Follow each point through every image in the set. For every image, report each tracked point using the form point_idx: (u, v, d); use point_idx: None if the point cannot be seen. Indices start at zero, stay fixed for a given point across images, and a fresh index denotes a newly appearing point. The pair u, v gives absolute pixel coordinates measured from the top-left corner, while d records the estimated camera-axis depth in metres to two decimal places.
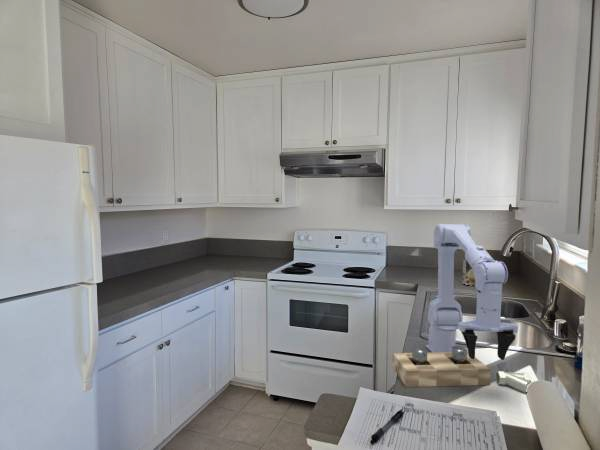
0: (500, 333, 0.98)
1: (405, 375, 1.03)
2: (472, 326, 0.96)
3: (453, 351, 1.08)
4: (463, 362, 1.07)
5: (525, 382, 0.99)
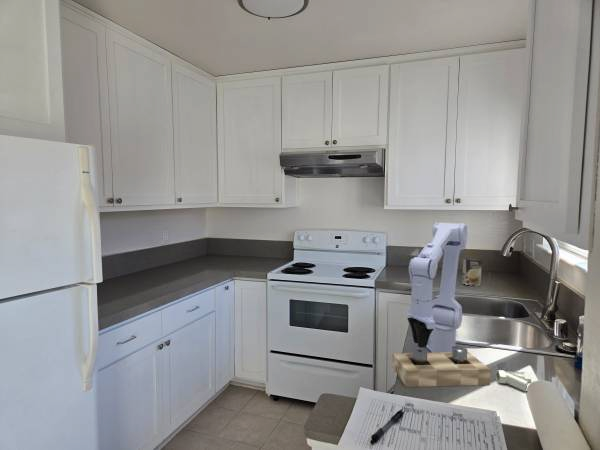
0: None
1: (405, 375, 1.03)
2: (410, 310, 1.12)
3: (453, 351, 1.08)
4: (463, 362, 1.07)
5: (525, 381, 1.00)
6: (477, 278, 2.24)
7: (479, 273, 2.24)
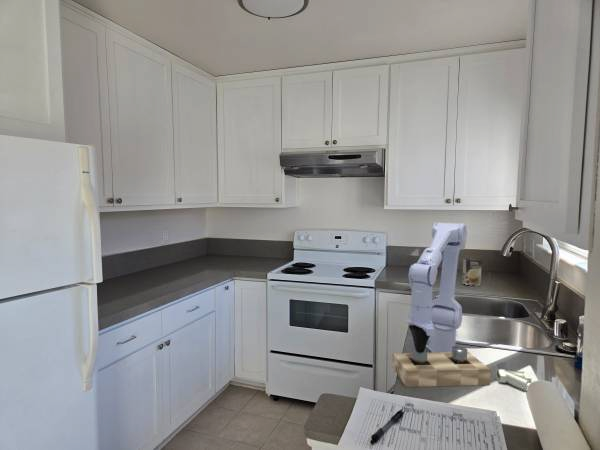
0: None
1: (405, 375, 1.03)
2: (409, 316, 1.12)
3: (453, 351, 1.08)
4: (463, 362, 1.07)
5: (525, 381, 1.00)
6: (477, 278, 2.24)
7: (479, 273, 2.24)
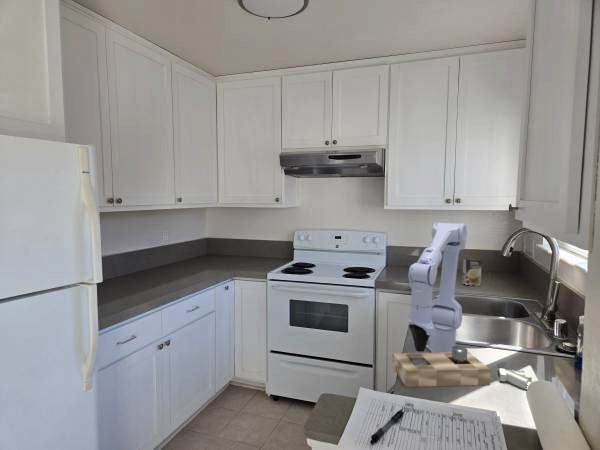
0: None
1: (405, 375, 1.03)
2: (409, 315, 1.12)
3: (453, 351, 1.08)
4: (463, 362, 1.07)
5: (525, 379, 1.01)
6: (477, 278, 2.24)
7: (479, 273, 2.24)
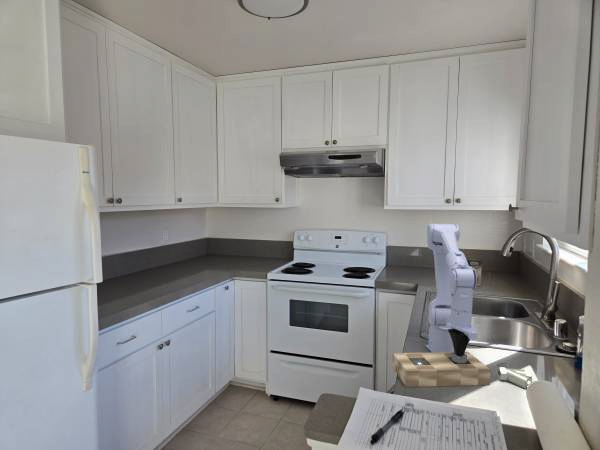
0: None
1: (405, 375, 1.03)
2: (448, 320, 1.13)
3: (453, 357, 1.08)
4: None
5: (525, 378, 1.02)
6: (477, 278, 2.24)
7: (479, 273, 2.24)
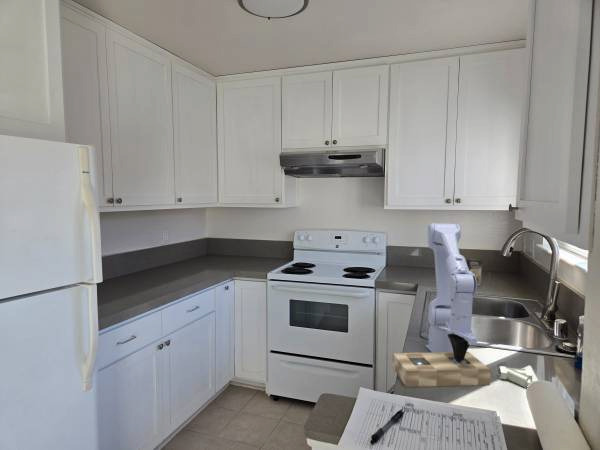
0: None
1: (405, 375, 1.03)
2: (447, 324, 1.13)
3: None
4: None
5: (525, 377, 1.02)
6: (477, 278, 2.24)
7: (479, 273, 2.24)
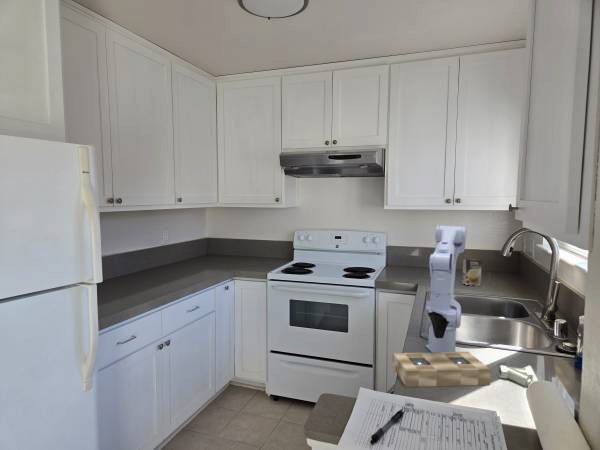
0: None
1: (405, 375, 1.03)
2: None
3: None
4: None
5: (526, 377, 1.03)
6: (477, 278, 2.24)
7: (479, 273, 2.24)
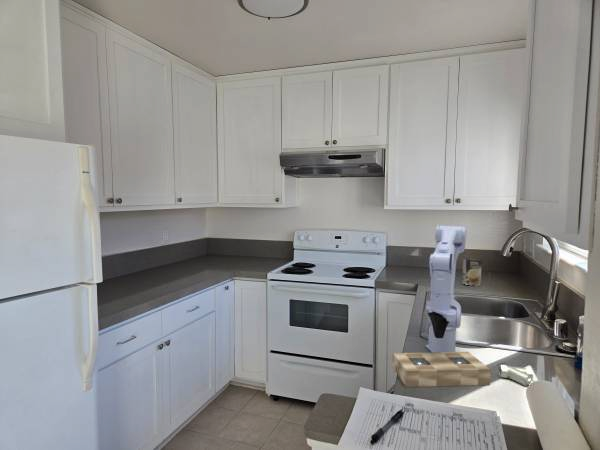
0: None
1: (405, 375, 1.03)
2: None
3: None
4: None
5: (526, 376, 1.03)
6: (477, 278, 2.24)
7: (479, 273, 2.24)
